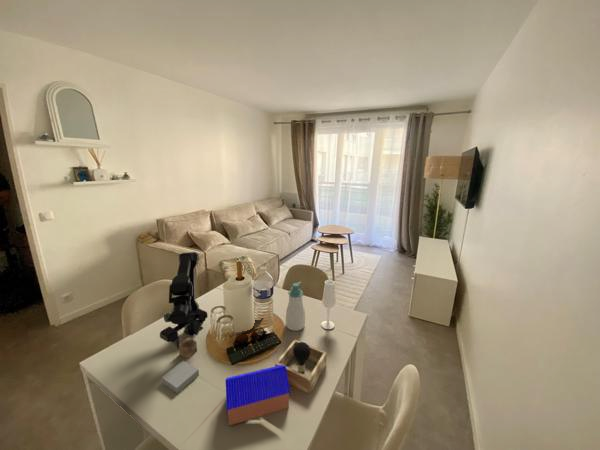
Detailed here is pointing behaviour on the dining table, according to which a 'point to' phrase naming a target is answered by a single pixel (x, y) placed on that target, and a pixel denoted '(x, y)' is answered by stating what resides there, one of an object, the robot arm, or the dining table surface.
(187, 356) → the walnut cube
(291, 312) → the soap bottle
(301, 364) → the light bulb
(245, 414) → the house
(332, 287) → the champagne flute
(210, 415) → the dining table surface
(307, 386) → the oak bulb corral
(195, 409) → the dining table surface
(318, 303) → the dining table surface
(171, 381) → the grey plinth
